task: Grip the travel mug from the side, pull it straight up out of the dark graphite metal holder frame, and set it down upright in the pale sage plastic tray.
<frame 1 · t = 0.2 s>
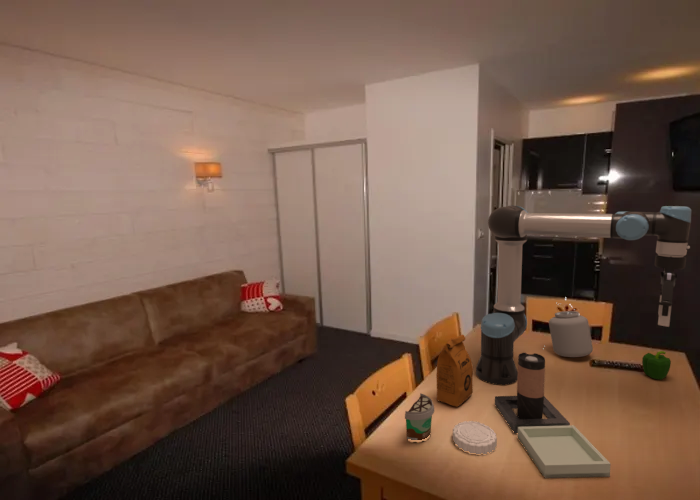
hand: (663, 320, 125), 27 cm above the table, tool pointing down, fingers open, 13 cm apart
jar: (567, 354, 167), on the table
food container: (423, 436, 114), on the table
mooncake: (474, 443, 111), on the table
bell pepper: (655, 377, 145), on the table
coffee package: (455, 399, 134), on the table
tray: (560, 455, 104), on the table
holder frame: (529, 417, 121), on the table
travel mug: (529, 418, 121), resting in holder frame
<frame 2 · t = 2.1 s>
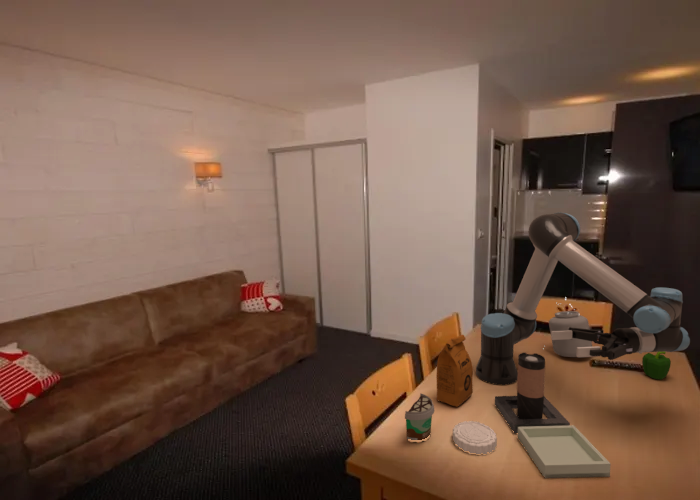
hand: (563, 343, 118), 24 cm above the table, tool horizontal, fingers open, 13 cm apart
nothing on the table moved.
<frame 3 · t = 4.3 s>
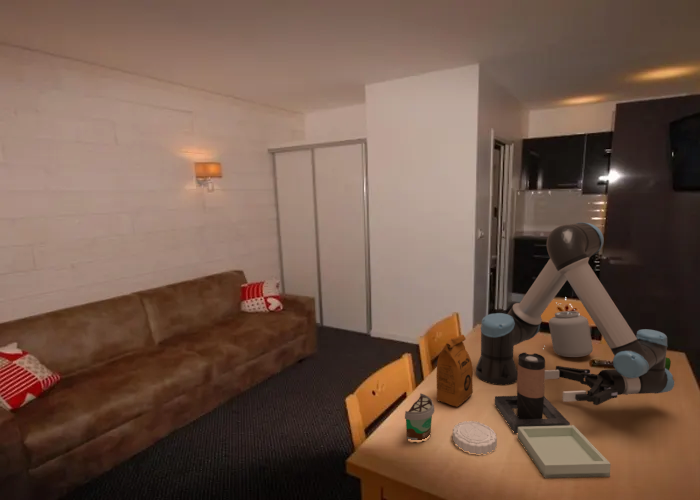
hand: (550, 385, 119), 11 cm above the table, tool horizontal, fingers open, 13 cm apart
nothing on the table moved.
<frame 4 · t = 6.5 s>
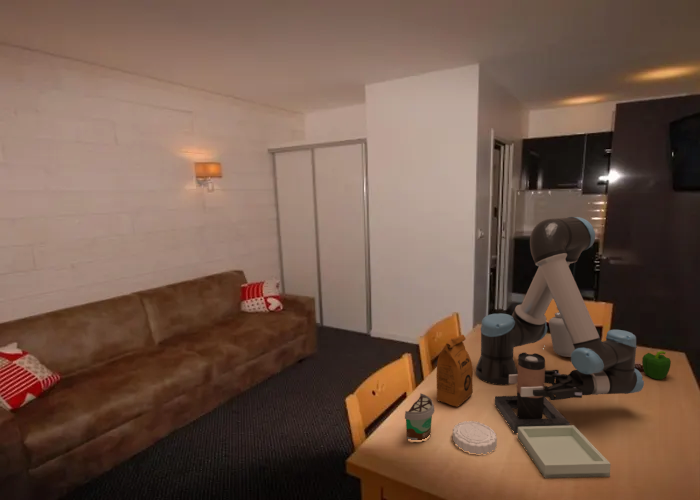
hand: (515, 385, 120), 11 cm above the table, tool horizontal, fingers closed on travel mug, 7 cm apart
travel mug: (529, 418, 121), resting in holder frame, touching gripper
everything else where it was.
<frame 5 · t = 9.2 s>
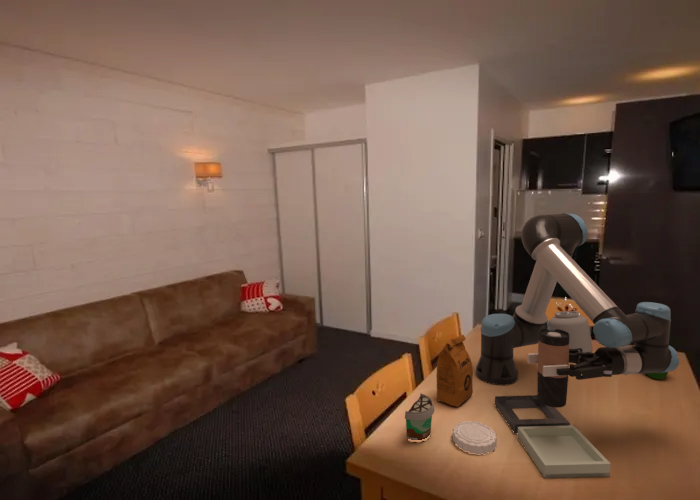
hand: (535, 364, 107), 23 cm above the table, tool horizontal, fingers closed on travel mug, 7 cm apart
travel mug: (551, 401, 109), point 12 cm above the table, touching gripper
everything else where it was.
when the fingers open (13 cm above the table, at t = 12.2 s): travel mug drops 1 cm, resting on tray.
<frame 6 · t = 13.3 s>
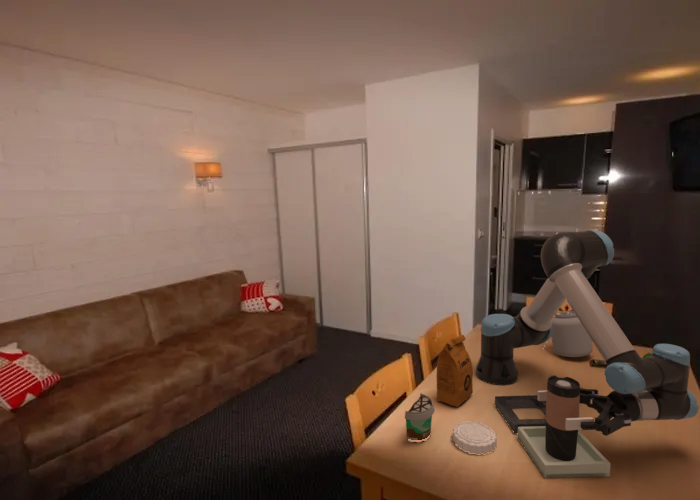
hand: (551, 409, 102), 14 cm above the table, tool horizontal, fingers open, 13 cm apart
travel mug: (560, 452, 104), point 1 cm above the table, touching tray
everything else where it was.
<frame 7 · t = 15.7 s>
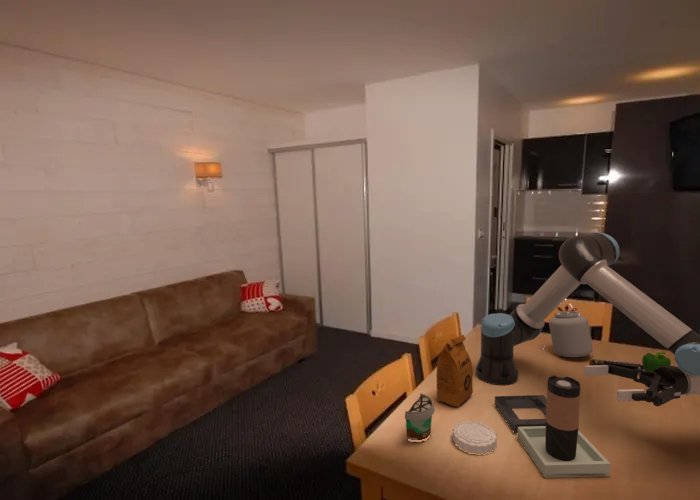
hand: (600, 382, 105), 18 cm above the table, tool horizontal, fingers open, 13 cm apart
nothing on the table moved.
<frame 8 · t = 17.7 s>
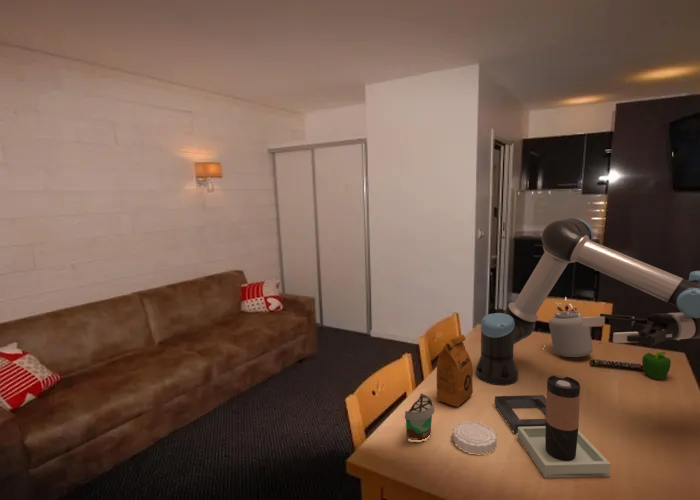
hand: (597, 329, 112), 30 cm above the table, tool horizontal, fingers open, 13 cm apart
nothing on the table moved.
at the end: travel mug inside the target area on the tray (0.1 cm from its centre), point 0.8 cm above the tray's base; travel mug tilted 0°; the gripper is holding nothing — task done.
